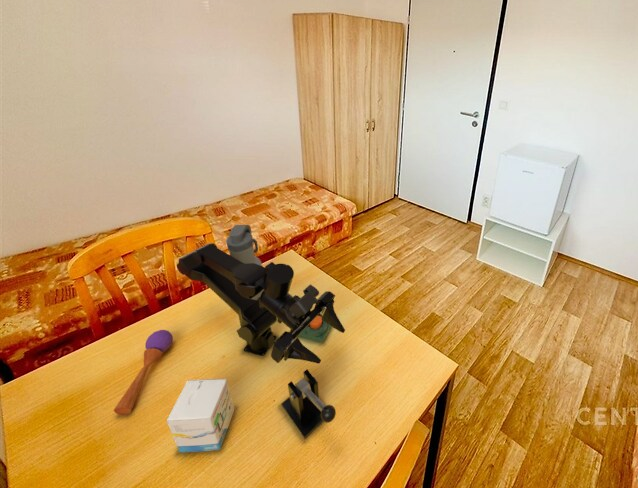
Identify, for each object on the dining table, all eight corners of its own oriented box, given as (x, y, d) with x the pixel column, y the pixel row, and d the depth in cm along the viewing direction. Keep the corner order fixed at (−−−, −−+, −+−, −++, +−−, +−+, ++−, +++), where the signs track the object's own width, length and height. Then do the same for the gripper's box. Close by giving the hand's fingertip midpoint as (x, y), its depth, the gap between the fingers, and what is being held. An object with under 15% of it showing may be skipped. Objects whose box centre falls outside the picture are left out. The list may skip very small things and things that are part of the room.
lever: (339, 417, 66) (337, 406, 65) (327, 429, 63) (324, 418, 63) (307, 385, 74) (304, 375, 74) (295, 394, 72) (292, 384, 71)
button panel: (291, 336, 94) (290, 327, 92) (304, 315, 101) (304, 306, 99) (322, 344, 92) (322, 335, 90) (334, 322, 100) (333, 313, 98)
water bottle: (241, 288, 109) (227, 219, 97) (270, 288, 111) (260, 220, 98) (229, 312, 100) (213, 239, 88) (262, 311, 102) (249, 238, 89)
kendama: (100, 407, 70) (148, 327, 87) (116, 419, 73) (159, 340, 90) (128, 401, 71) (170, 323, 88) (143, 413, 74) (180, 336, 91)
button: (307, 327, 93) (307, 323, 92) (313, 318, 96) (312, 314, 95) (318, 330, 92) (318, 326, 91) (324, 320, 95) (324, 316, 95)
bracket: (330, 416, 75) (328, 387, 71) (304, 440, 71) (301, 411, 66) (307, 386, 81) (304, 358, 76) (281, 406, 76) (277, 378, 72)
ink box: (220, 450, 68) (210, 419, 63) (178, 453, 67) (164, 421, 62) (235, 408, 75) (227, 377, 70) (198, 410, 75) (186, 378, 69)
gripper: (256, 313, 65) (314, 361, 62) (315, 263, 81) (364, 300, 77) (250, 340, 71) (302, 386, 68) (306, 289, 87) (351, 324, 83)
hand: (332, 346), depth 74 cm, fingers open, 9 cm apart
